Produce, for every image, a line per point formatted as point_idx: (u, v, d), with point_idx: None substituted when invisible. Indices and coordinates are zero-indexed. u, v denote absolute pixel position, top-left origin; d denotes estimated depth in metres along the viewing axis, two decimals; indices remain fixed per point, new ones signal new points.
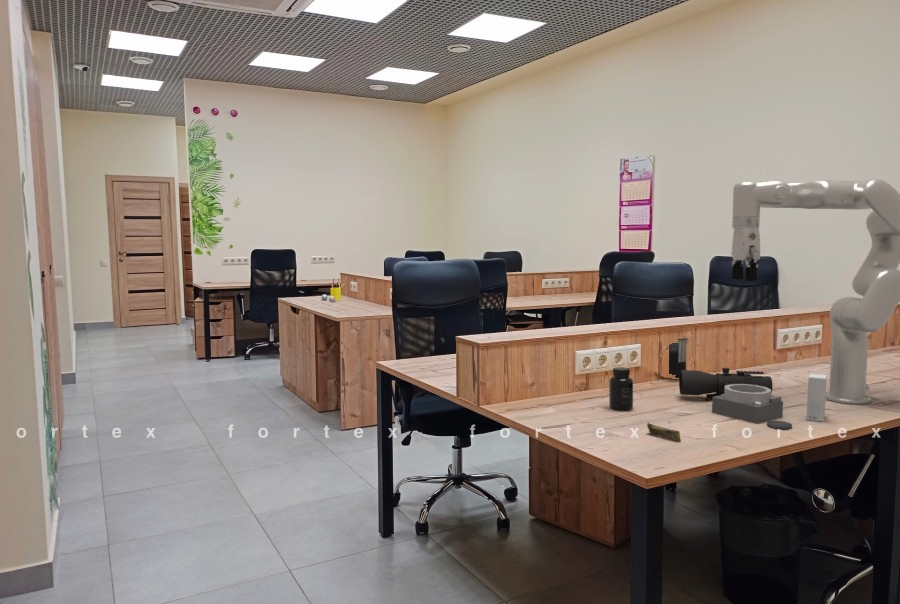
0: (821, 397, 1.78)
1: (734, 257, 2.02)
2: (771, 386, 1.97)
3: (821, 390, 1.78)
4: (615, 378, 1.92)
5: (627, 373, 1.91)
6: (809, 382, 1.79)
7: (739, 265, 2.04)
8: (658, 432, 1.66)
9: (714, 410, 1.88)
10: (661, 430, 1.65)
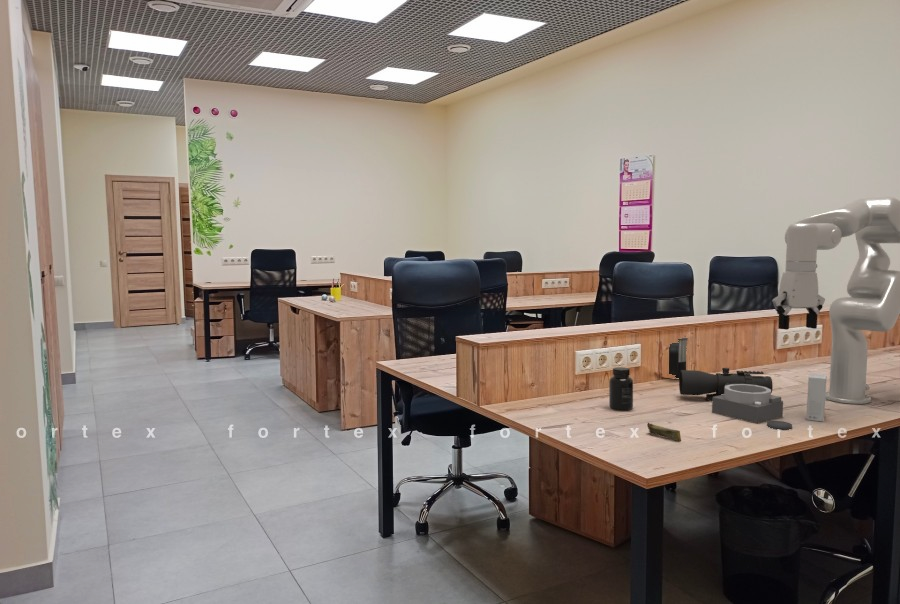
0: (821, 397, 1.78)
1: (796, 305, 1.81)
2: (771, 386, 1.97)
3: (821, 390, 1.78)
4: (615, 378, 1.92)
5: (627, 373, 1.91)
6: (809, 382, 1.79)
7: None
8: (658, 432, 1.66)
9: (714, 410, 1.88)
10: (662, 429, 1.65)
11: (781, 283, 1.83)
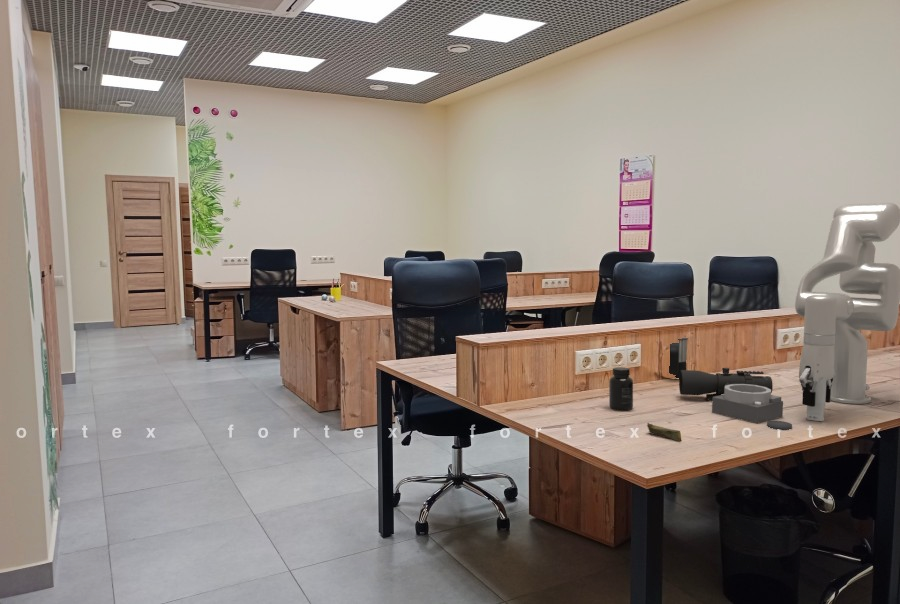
0: (821, 397, 1.78)
1: (819, 379, 1.77)
2: (771, 386, 1.97)
3: (821, 390, 1.78)
4: (615, 378, 1.92)
5: (627, 373, 1.91)
6: None
7: None
8: (658, 432, 1.66)
9: (714, 410, 1.88)
10: (662, 430, 1.65)
11: (803, 357, 1.79)
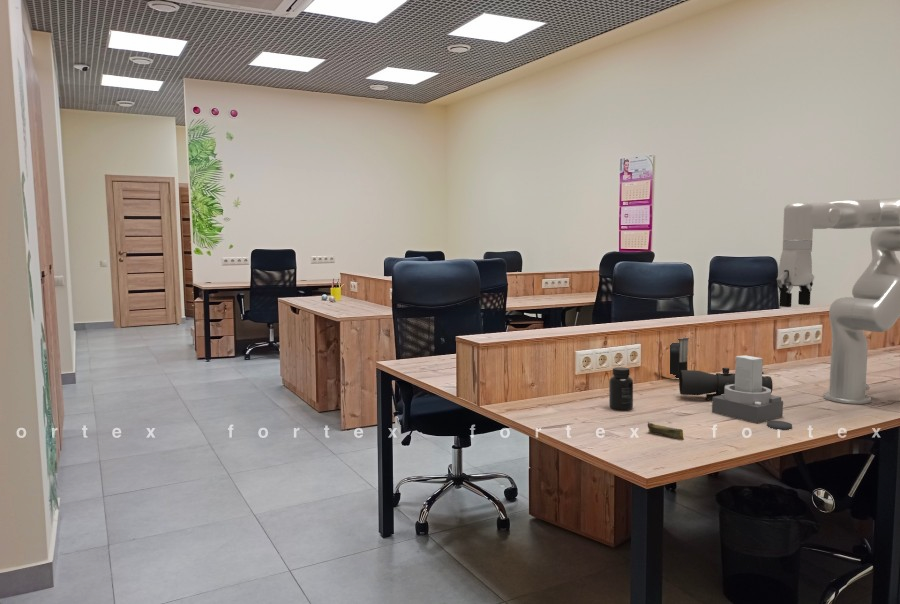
0: (760, 377, 1.83)
1: (797, 282, 1.86)
2: (771, 386, 1.97)
3: (760, 369, 1.83)
4: (615, 378, 1.92)
5: (627, 373, 1.91)
6: (753, 364, 1.82)
7: None
8: (659, 431, 1.67)
9: (714, 410, 1.88)
10: (663, 429, 1.66)
11: (781, 262, 1.87)
